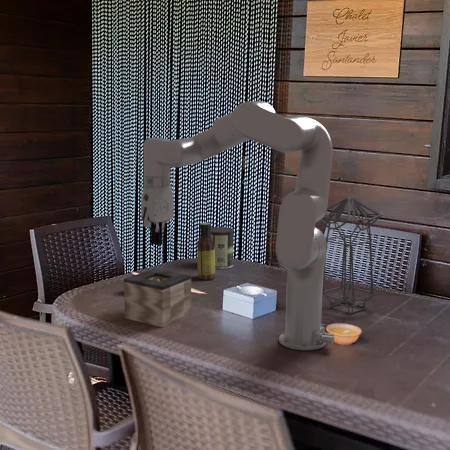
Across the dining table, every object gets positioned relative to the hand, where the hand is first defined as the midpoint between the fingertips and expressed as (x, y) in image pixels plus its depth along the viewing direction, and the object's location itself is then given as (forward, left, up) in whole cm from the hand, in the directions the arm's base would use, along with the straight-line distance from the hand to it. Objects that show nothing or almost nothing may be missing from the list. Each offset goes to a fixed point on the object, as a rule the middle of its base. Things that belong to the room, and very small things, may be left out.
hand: (156, 244), depth 200 cm
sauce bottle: (+11, -42, -22) cm, 49 cm away
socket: (0, 0, -22) cm, 22 cm away
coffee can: (+16, -59, -22) cm, 65 cm away
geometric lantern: (-43, -39, -22) cm, 62 cm away
